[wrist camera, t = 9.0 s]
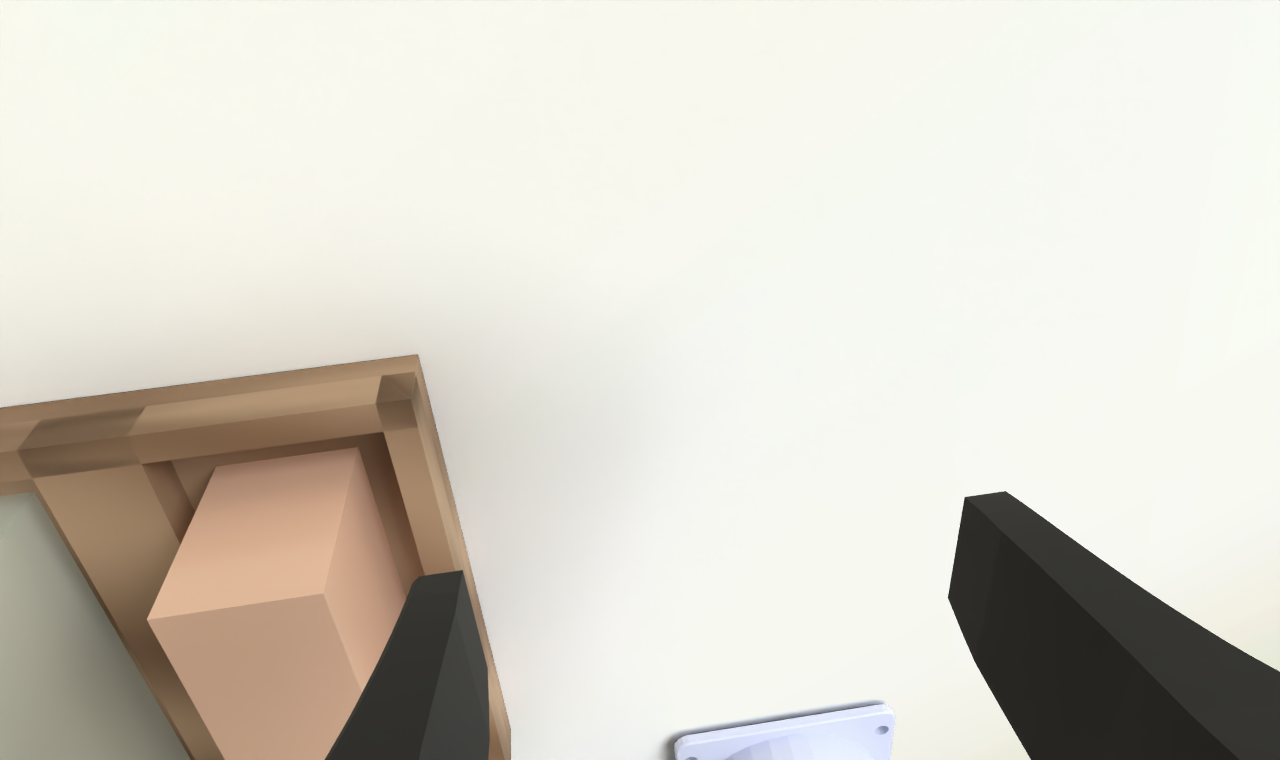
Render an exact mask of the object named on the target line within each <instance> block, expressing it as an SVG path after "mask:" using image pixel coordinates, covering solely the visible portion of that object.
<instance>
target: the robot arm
mask: <svg viewBox="0 0 1280 760" xmlns="http://www.w3.org/2000/svg"><path fill="white" fill-rule="evenodd" d="M948 599H949V601H950V604H951V606H952V609H953V611H954V614H955V616H956V619H957V621H958V624H959V626H960V629H961V631H962V633H963V636H964V638H965V640H966V643H967V645H968V647H969V649H970V652H971V654H972V656H973V659H974V661H975V663H976V665H977V667H978V668H979V670H980V672H981V674H982V675H983V677H984V679H985V681H986V683H987V684H988V686H989V688H990V690H991V691H992V693H993V695H994V697H995V698H996V700H997V702H998V704H999V705H1000V707H1001V709H1002V711H1003V712H1004V714H1005V716H1006V717H1007V719H1008V721H1009V723H1010V724H1011V726H1012V728H1013V729H1014V731H1015V733H1016V735H1017V736H1018V738H1019V740H1020V741H1021V743H1022V745H1023V747H1024V748H1025V750H1026V752H1027V753H1028V755H1029V757H1030V759H1031V760H1280V672H1279V671H1277V670H1276V669H1274V668H1272V667H1270V666H1268V665H1266V664H1265V663H1263V662H1261V661H1259V660H1257V659H1255V658H1254V657H1252V656H1250V655H1248V654H1247V653H1245V652H1243V651H1242V650H1240V649H1238V648H1236V647H1235V646H1233V645H1231V644H1230V643H1228V642H1226V641H1224V640H1223V639H1221V638H1220V637H1218V636H1216V635H1215V634H1213V633H1212V632H1210V631H1208V630H1207V629H1205V628H1203V627H1202V626H1200V625H1199V624H1197V623H1195V622H1194V621H1192V620H1191V619H1189V618H1187V617H1186V616H1184V615H1183V614H1181V613H1179V612H1178V611H1176V610H1175V609H1173V608H1172V607H1170V606H1169V605H1167V604H1166V603H1164V602H1162V601H1161V600H1159V599H1158V598H1156V597H1155V596H1153V595H1152V594H1150V593H1149V592H1147V591H1146V590H1144V589H1143V588H1141V587H1140V586H1138V585H1137V584H1136V583H1134V582H1133V581H1131V580H1130V579H1128V578H1127V577H1125V576H1124V575H1122V574H1121V573H1120V572H1118V571H1117V570H1115V569H1114V568H1112V567H1111V566H1109V565H1108V564H1107V563H1105V562H1104V561H1102V560H1101V559H1100V558H1098V557H1097V556H1095V555H1094V554H1093V553H1091V552H1090V551H1088V550H1087V549H1086V548H1084V547H1083V546H1081V545H1080V544H1079V543H1077V542H1076V541H1074V540H1073V539H1072V538H1070V537H1069V536H1068V535H1066V534H1065V533H1063V532H1062V531H1061V530H1059V529H1058V528H1056V527H1055V526H1054V525H1052V524H1051V523H1050V522H1048V521H1047V520H1045V519H1044V518H1043V517H1041V516H1040V515H1039V514H1037V513H1036V512H1034V511H1033V510H1032V509H1030V508H1029V507H1027V506H1026V505H1025V504H1023V503H1022V502H1020V501H1019V500H1018V499H1016V498H1015V497H1013V496H1012V495H1010V494H1009V493H1007V492H1006V491H1004V492H998V493H991V494H984V495H977V496H970V497H965V499H964V505H963V511H962V517H961V523H960V529H959V535H958V541H957V547H956V553H955V559H954V565H953V571H952V577H951V583H950V589H949V595H948ZM895 720H896V717H895V714H894V711H893V709H892V707H890V706H889V705H886V704H879V705H872V706H866V707H860V708H854V709H848V710H841V711H835V712H829V713H823V714H816V715H810V716H804V717H798V718H791V719H785V720H779V721H773V722H767V723H760V724H754V725H748V726H742V727H735V728H729V729H723V730H717V731H710V732H704V733H698V734H692V735H686V736H683V737H681V738H679V739H678V740H677V741H676V742H675V745H674V749H675V760H890V757H891V750H892V743H893V735H894V728H895ZM489 743H490V726H489V689H488V667H487V663H486V659H485V655H484V651H483V647H482V643H481V639H480V635H479V631H478V628H477V624H476V620H475V616H474V612H473V608H472V604H471V600H470V596H469V592H468V588H467V584H466V580H465V576H464V572H463V570H459V571H453V572H446V573H439V574H432V575H425V576H419V577H418V578H417V579H416V580H415V581H414V582H413V583H412V586H411V588H410V591H409V593H408V596H407V598H406V601H405V603H404V606H403V608H402V610H401V613H400V615H399V617H398V620H397V622H396V624H395V626H394V629H393V631H392V633H391V635H390V637H389V640H388V642H387V644H386V646H385V648H384V650H383V652H382V654H381V656H380V659H379V661H378V663H377V665H376V667H375V669H374V671H373V672H372V674H371V676H370V678H369V680H368V682H367V684H366V686H365V688H364V690H363V692H362V694H361V696H360V698H359V700H358V702H357V703H356V705H355V707H354V709H353V711H352V713H351V715H350V717H349V718H348V720H347V722H346V724H345V726H344V727H343V729H342V731H341V732H340V734H339V736H338V738H337V739H336V741H335V743H334V744H333V746H332V748H331V750H330V751H329V753H328V755H327V756H326V758H325V760H488V757H489Z"/></svg>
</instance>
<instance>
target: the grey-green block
mask: <svg viewBox="0 0 1280 760" xmlns="http://www.w3.org/2000/svg"><path fill="white" fill-rule="evenodd" d="M0 760H191V759H190V757H189V756H188V754H187V752H186V751H185V749H184V747H183V745H182V744H181V742H180V740H179V739H178V737H177V735H176V733H175V732H174V730H173V728H172V727H171V725H170V723H169V721H168V720H167V718H166V716H165V715H164V713H163V711H162V709H161V708H160V706H159V704H158V703H157V701H156V699H155V697H154V696H153V694H152V692H151V691H150V689H149V687H148V685H147V684H146V682H145V680H144V679H143V677H142V675H141V673H140V672H139V670H138V668H137V667H136V665H135V663H134V661H133V660H132V658H131V656H130V655H129V653H128V651H127V649H126V648H125V646H124V644H123V643H122V641H121V639H120V637H119V636H118V634H117V632H116V631H115V629H114V627H113V625H112V624H111V622H110V620H109V619H108V617H107V615H106V613H105V612H104V610H103V608H102V607H101V605H100V603H99V601H98V600H97V598H96V596H95V595H94V593H93V591H92V589H91V588H90V586H89V584H88V583H87V581H86V579H85V577H84V576H83V574H82V572H81V571H80V569H79V567H78V566H77V564H76V562H75V560H74V559H73V557H72V555H71V554H70V552H69V550H68V548H67V547H66V545H65V543H64V542H63V540H62V538H61V536H60V535H59V533H58V531H57V530H56V528H55V526H54V524H53V523H52V521H51V519H50V518H49V516H48V514H47V512H46V511H45V509H44V507H43V506H42V504H41V502H40V500H39V499H38V497H37V495H36V494H35V492H28V493H20V494H13V495H6V496H0Z"/></svg>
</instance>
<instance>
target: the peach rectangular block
mask: <svg viewBox="0 0 1280 760" xmlns="http://www.w3.org/2000/svg"><path fill="white" fill-rule="evenodd" d="M405 601H406V596H405V593H404V589H403V586H402V583H401V580H400V577H399V574H398V571H397V567H396V564H395V561H394V558H393V555H392V552H391V549H390V546H389V542H388V539H387V536H386V533H385V530H384V527H383V524H382V520H381V517H380V514H379V511H378V508H377V505H376V502H375V498H374V495H373V492H372V489H371V486H370V483H369V480H368V476H367V473H366V470H365V467H364V464H363V461H362V458H361V455H360V451H359V448H358V447H355V448H348V449H340V450H333V451H326V452H319V453H312V454H304V455H297V456H290V457H283V458H276V459H268V460H261V461H254V462H247V463H240V464H232V465H225V466H218V467H216V468H215V470H214V472H213V474H212V477H211V479H210V481H209V483H208V485H207V488H206V490H205V492H204V494H203V496H202V499H201V501H200V503H199V505H198V508H197V510H196V512H195V514H194V516H193V519H192V521H191V523H190V525H189V527H188V530H187V532H186V534H185V536H184V538H183V541H182V543H181V545H180V547H179V550H178V552H177V554H176V556H175V558H174V561H173V563H172V565H171V567H170V569H169V572H168V574H167V576H166V578H165V581H164V583H163V585H162V587H161V589H160V592H159V594H158V596H157V598H156V600H155V603H154V605H153V607H152V609H151V611H150V614H149V616H148V618H147V621H148V623H149V625H150V627H151V628H152V630H153V632H154V634H155V636H156V637H157V639H158V641H159V643H160V645H161V646H162V648H163V650H164V652H165V653H166V655H167V657H168V659H169V661H170V662H171V664H172V666H173V668H174V670H175V671H176V673H177V675H178V677H179V679H180V680H181V682H182V684H183V686H184V687H185V689H186V691H187V693H188V695H189V696H190V698H191V700H192V702H193V704H194V705H195V707H196V709H197V711H198V713H199V714H200V716H201V718H202V720H203V721H204V723H205V725H206V727H207V729H208V730H209V732H210V734H211V736H212V738H213V739H214V741H215V743H216V745H217V747H218V748H219V750H220V752H221V754H222V755H223V757H224V759H225V760H325V758H326V756H327V755H328V753H329V751H330V750H331V748H332V746H333V744H334V743H335V741H336V739H337V738H338V736H339V734H340V732H341V731H342V729H343V727H344V726H345V724H346V722H347V720H348V718H349V717H350V715H351V713H352V711H353V709H354V707H355V705H356V703H357V702H358V700H359V698H360V696H361V694H362V692H363V690H364V688H365V686H366V684H367V682H368V680H369V678H370V676H371V674H372V672H373V671H374V669H375V667H376V665H377V663H378V661H379V659H380V656H381V654H382V652H383V650H384V648H385V646H386V644H387V642H388V640H389V637H390V635H391V633H392V631H393V629H394V626H395V624H396V622H397V620H398V617H399V615H400V613H401V610H402V608H403V606H404V603H405Z"/></svg>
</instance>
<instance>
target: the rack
mask: <svg viewBox="0 0 1280 760" xmlns="http://www.w3.org/2000/svg"><path fill="white" fill-rule="evenodd" d="M355 447H358V448H359V451H360V455H361V458H362V461H363V464H364V467H365V470H366V473H367V476H368V480H369V483H370V486H371V489H372V492H373V495H374V498H375V502H376V505H377V508H378V511H379V514H380V517H381V520H382V524H383V527H384V530H385V533H386V536H387V539H388V542H389V546H390V549H391V552H392V555H393V558H394V561H395V564H396V567H397V571H398V574H399V577H400V580H401V583H402V586H403V589H404V593H405V596H406V598H407V596H408V593H409V591H410V588H411V586H412V583H413V582H414V581H415V580H416V579H417V578H418V577H419V576H425V575H432V574H439V573H446V572H453V571H459V570H463V572H464V576H465V580H466V584H467V588H468V592H469V596H470V600H471V604H472V608H473V612H474V616H475V620H476V624H477V628H478V631H479V635H480V639H481V643H482V647H483V651H484V655H485V659H486V663H487V667H488V689H489V726H490V743H489V757H488V760H511V729H510V725H509V721H508V716H507V712H506V708H505V704H504V700H503V696H502V692H501V688H500V684H499V680H498V676H497V672H496V668H495V664H494V660H493V656H492V652H491V648H490V644H489V640H488V636H487V632H486V627H485V623H484V619H483V615H482V611H481V607H480V603H479V599H478V595H477V591H476V587H475V583H474V579H473V575H472V571H471V567H470V563H469V559H468V555H467V551H466V547H465V543H464V538H463V534H462V530H461V526H460V522H459V518H458V514H457V510H456V506H455V502H454V498H453V494H452V490H451V486H450V482H449V478H448V474H447V470H446V466H445V462H444V458H443V453H442V449H441V445H440V441H439V437H438V433H437V429H436V425H435V421H434V417H433V413H432V409H431V405H430V401H429V397H428V393H427V389H426V385H425V381H424V377H423V373H422V369H421V364H420V360H419V356H418V355H411V356H403V357H395V358H387V359H380V360H372V361H364V362H356V363H348V364H341V365H333V366H325V367H317V368H309V369H301V370H294V371H286V372H278V373H270V374H262V375H255V376H247V377H239V378H231V379H223V380H215V381H208V382H200V383H192V384H184V385H176V386H169V387H161V388H153V389H145V390H137V391H129V392H122V393H114V394H106V395H98V396H90V397H83V398H75V399H67V400H59V401H51V402H44V403H36V404H28V405H20V406H12V407H4V408H0V496H6V495H13V494H20V493H28V492H35V494H36V495H37V497H38V499H39V500H40V502H41V504H42V506H43V507H44V509H45V511H46V512H47V514H48V516H49V518H50V519H51V521H52V523H53V524H54V526H55V528H56V530H57V531H58V533H59V535H60V536H61V538H62V540H63V542H64V543H65V545H66V547H67V548H68V550H69V552H70V554H71V555H72V557H73V559H74V560H75V562H76V564H77V566H78V567H79V569H80V571H81V572H82V574H83V576H84V577H85V579H86V581H87V583H88V584H89V586H90V588H91V589H92V591H93V593H94V595H95V596H96V598H97V600H98V601H99V603H100V605H101V607H102V608H103V610H104V612H105V613H106V615H107V617H108V619H109V620H110V622H111V624H112V625H113V627H114V629H115V631H116V632H117V634H118V636H119V637H120V639H121V641H122V643H123V644H124V646H125V648H126V649H127V651H128V653H129V655H130V656H131V658H132V660H133V661H134V663H135V665H136V667H137V668H138V670H139V672H140V673H141V675H142V677H143V679H144V680H145V682H146V684H147V685H148V687H149V689H150V691H151V692H152V694H153V696H154V697H155V699H156V701H157V703H158V704H159V706H160V708H161V709H162V711H163V713H164V715H165V716H166V718H167V720H168V721H169V723H170V725H171V727H172V728H173V730H174V732H175V733H176V735H177V737H178V739H179V740H180V742H181V744H182V745H183V747H184V749H185V751H186V752H187V754H188V756H189V757H190V759H191V760H225V759H224V757H223V755H222V754H221V752H220V750H219V748H218V747H217V745H216V743H215V741H214V739H213V738H212V736H211V734H210V732H209V730H208V729H207V727H206V725H205V723H204V721H203V720H202V718H201V716H200V714H199V713H198V711H197V709H196V707H195V705H194V704H193V702H192V700H191V698H190V696H189V695H188V693H187V691H186V689H185V687H184V686H183V684H182V682H181V680H180V679H179V677H178V675H177V673H176V671H175V670H174V668H173V666H172V664H171V662H170V661H169V659H168V657H167V655H166V653H165V652H164V650H163V648H162V646H161V645H160V643H159V641H158V639H157V637H156V636H155V634H154V632H153V630H152V628H151V627H150V625H149V623H148V621H147V618H148V616H149V614H150V611H151V609H152V607H153V605H154V603H155V600H156V598H157V596H158V594H159V592H160V589H161V587H162V585H163V583H164V581H165V578H166V576H167V574H168V572H169V569H170V567H171V565H172V563H173V561H174V558H175V556H176V554H177V552H178V550H179V547H180V545H181V543H182V541H183V538H184V536H185V534H186V532H187V530H188V527H189V525H190V523H191V521H192V519H193V516H194V514H195V512H196V510H197V508H198V505H199V503H200V501H201V499H202V496H203V494H204V492H205V490H206V488H207V485H208V483H209V481H210V479H211V477H212V474H213V472H214V470H215V468H216V467H218V466H225V465H232V464H240V463H247V462H254V461H261V460H268V459H276V458H283V457H290V456H297V455H304V454H312V453H319V452H326V451H333V450H340V449H348V448H355Z"/></svg>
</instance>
